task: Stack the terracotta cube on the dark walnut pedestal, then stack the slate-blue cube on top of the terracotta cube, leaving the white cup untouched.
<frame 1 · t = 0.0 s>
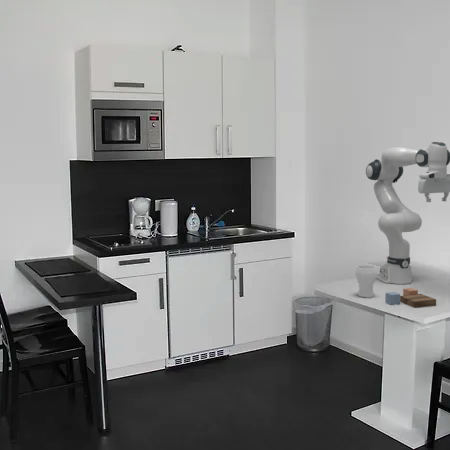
hand: (436, 201, 314), 48 cm above the table, tool pointing down, fingers open, 8 cm apart
pedestal: (417, 303, 302), on the table
cup: (365, 295, 319), on the table
terracotta block: (410, 299, 311), on the table
blue block: (392, 303, 303), on the table
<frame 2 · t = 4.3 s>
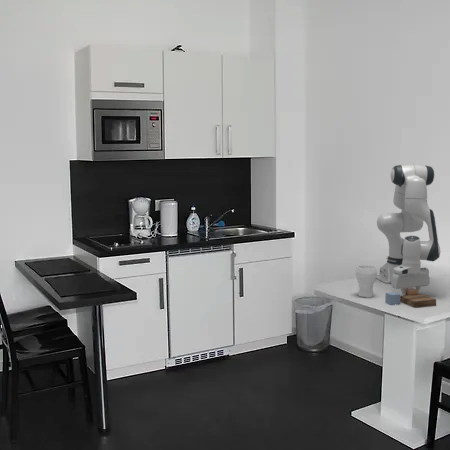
hand: (410, 295, 311), 2 cm above the table, tool pointing down, fingers closed on terracotta block, 5 cm apart
terracotta block: (410, 298, 311), on the table, touching gripper
everything else where it was.
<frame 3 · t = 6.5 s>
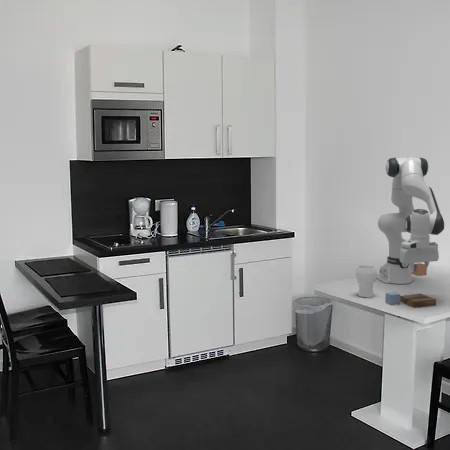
hand: (418, 271, 300), 16 cm above the table, tool pointing down, fingers closed on terracotta block, 5 cm apart
terracotta block: (418, 274, 300), point 14 cm above the table, touching gripper
everything else where it was.
when the fingers open (6 cm above the table, at t = 8.7 s): terracotta block stays where it is, resting on pedestal.
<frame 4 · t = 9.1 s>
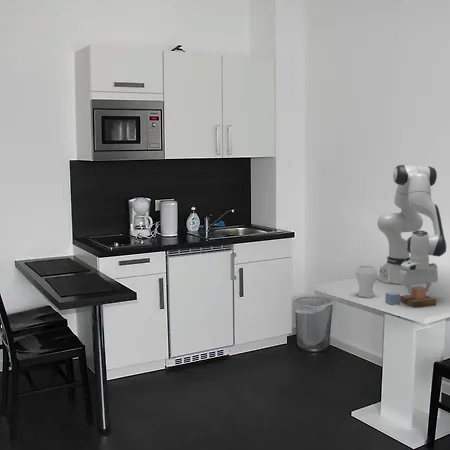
hand: (418, 292, 301), 6 cm above the table, tool pointing down, fingers open, 8 cm apart
terracotta block: (418, 297, 301), point 3 cm above the table, touching pedestal
everything else where it was.
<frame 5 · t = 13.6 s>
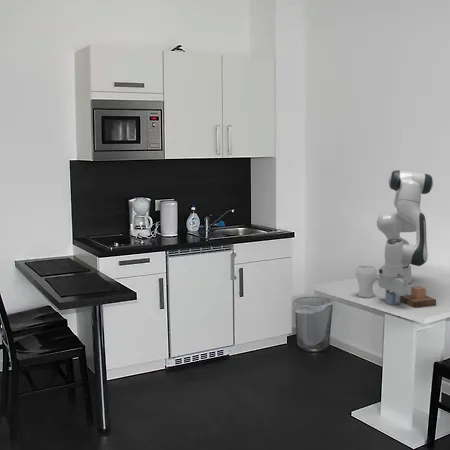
hand: (392, 300, 303), 2 cm above the table, tool pointing down, fingers closed on blue block, 5 cm apart
blue block: (392, 303, 303), on the table, touching gripper
everything else where it was.
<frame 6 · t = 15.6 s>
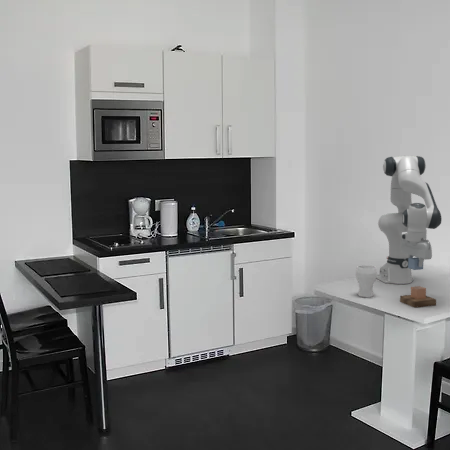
hand: (415, 265, 300), 19 cm above the table, tool pointing down, fingers closed on blue block, 5 cm apart
blue block: (415, 268, 300), point 17 cm above the table, touching gripper
everything else where it was.
when the fingers open (11 cm above the table, at t = 18.1 s): blue block stays where it is, resting on terracotta block.
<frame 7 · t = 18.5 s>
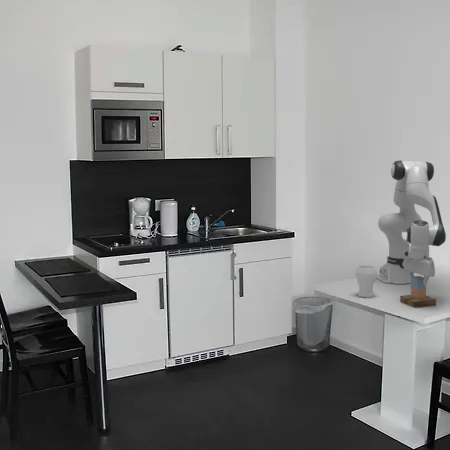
hand: (418, 282, 300), 11 cm above the table, tool pointing down, fingers open, 8 cm apart
terracotta block: (418, 297, 301), point 3 cm above the table, touching blue block, pedestal
blue block: (418, 287, 301), point 8 cm above the table, touching terracotta block
everything else where it was.
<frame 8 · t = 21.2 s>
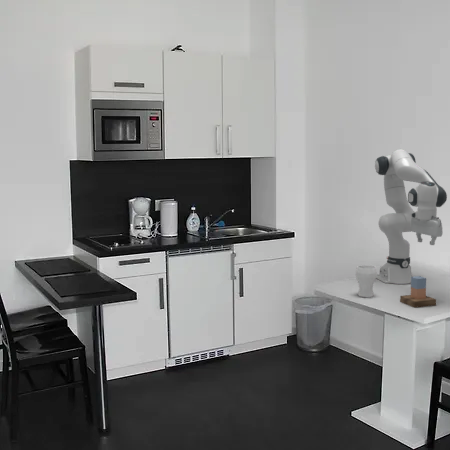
hand: (425, 243, 301), 29 cm above the table, tool pointing down, fingers open, 8 cm apart
nothing on the table moved.
at the end: terracotta block inside the target area on the pedestal (0.0 cm from its centre), point 3.0 cm above the pedestal's base; blue block 0.1 cm off-centre on the terracotta block, point 5.0 cm above the terracotta block's base; blue block tilted 0° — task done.
